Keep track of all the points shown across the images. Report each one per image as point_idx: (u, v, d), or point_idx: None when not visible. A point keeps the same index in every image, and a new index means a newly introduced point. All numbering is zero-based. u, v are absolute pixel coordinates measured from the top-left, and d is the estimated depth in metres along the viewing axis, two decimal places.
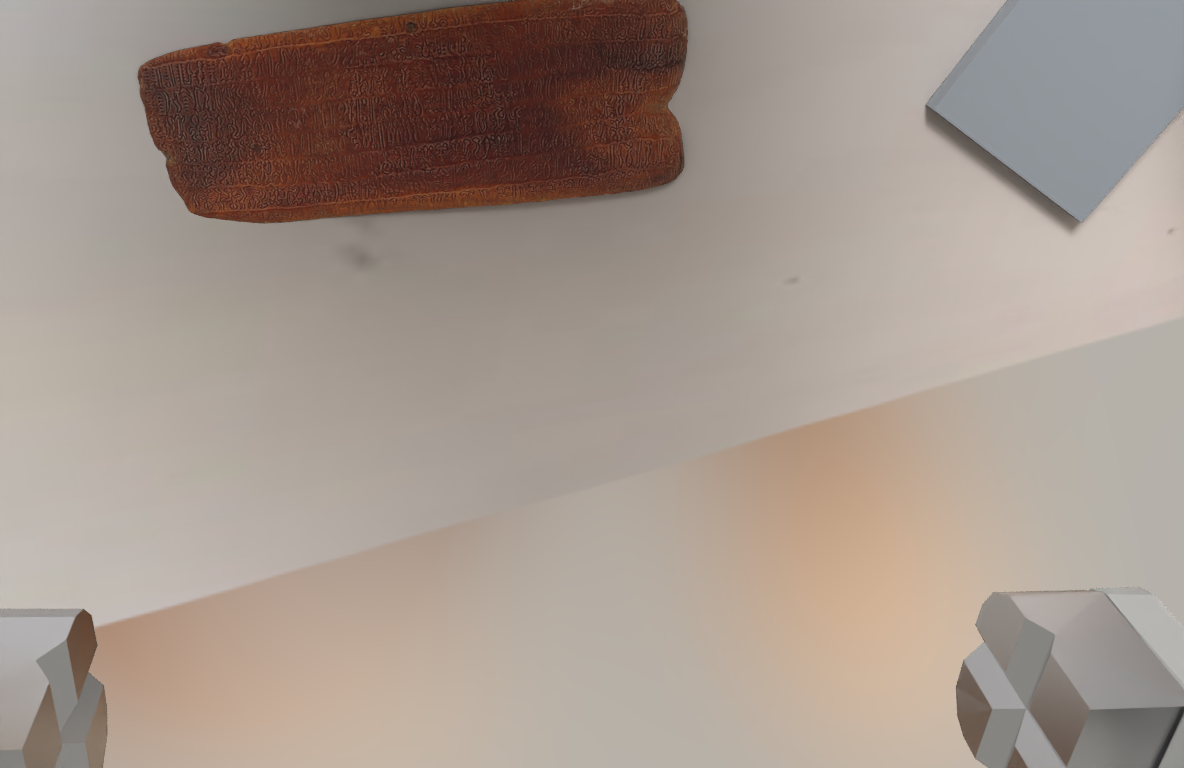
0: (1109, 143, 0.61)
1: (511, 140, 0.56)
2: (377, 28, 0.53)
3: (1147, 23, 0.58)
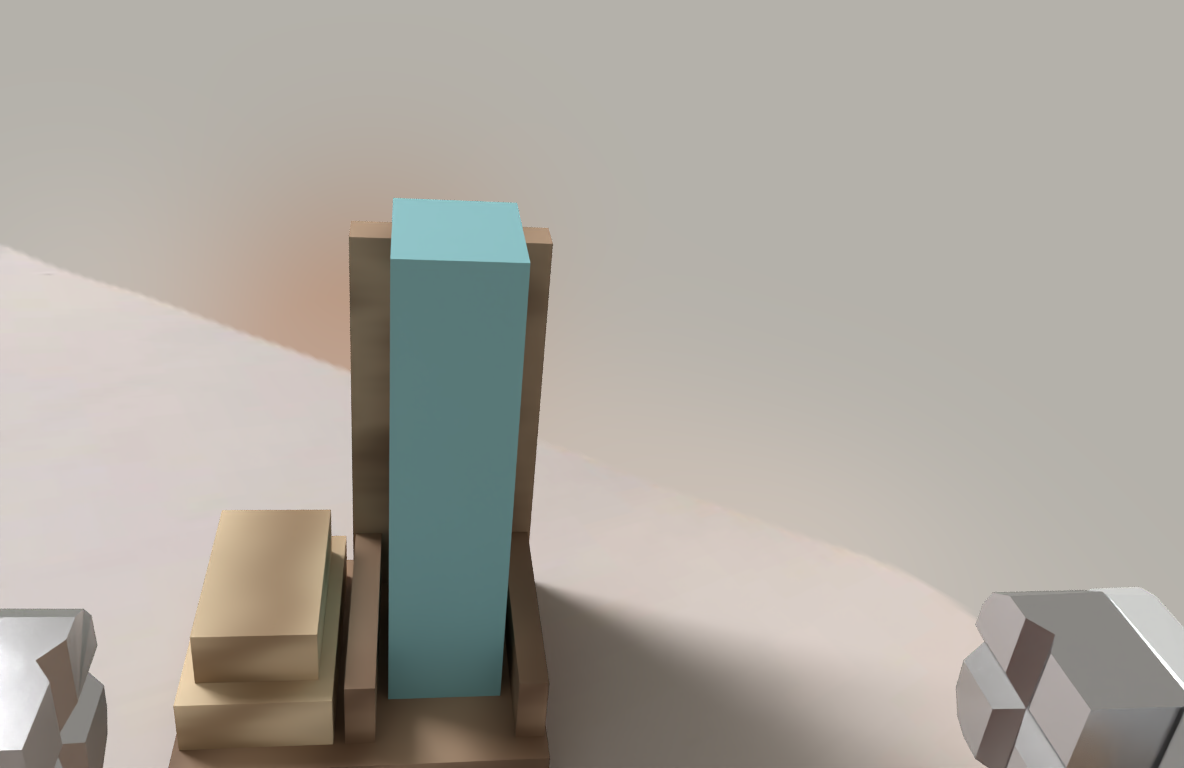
0: None
1: None
2: None
3: None
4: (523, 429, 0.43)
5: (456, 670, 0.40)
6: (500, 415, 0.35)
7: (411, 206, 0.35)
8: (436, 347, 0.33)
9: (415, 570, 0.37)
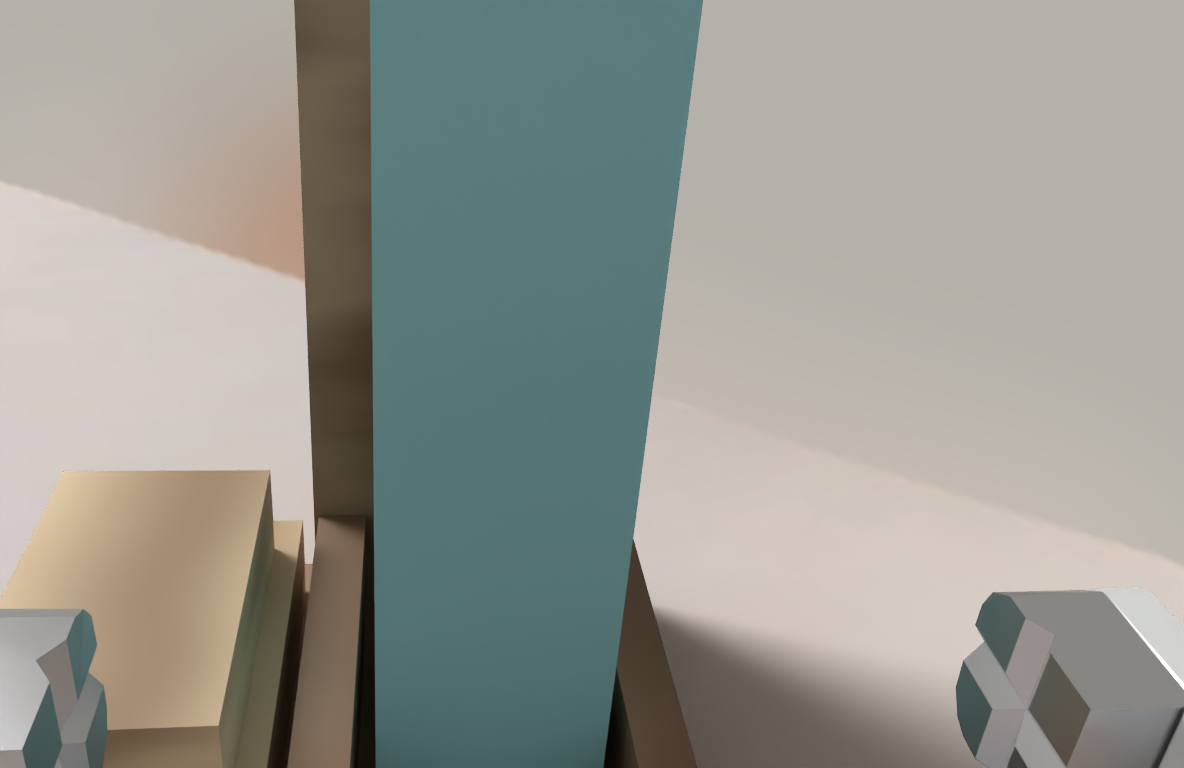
0: None
1: None
2: None
3: None
4: None
5: None
6: (629, 226, 0.15)
7: None
8: (484, 40, 0.14)
9: (430, 584, 0.17)
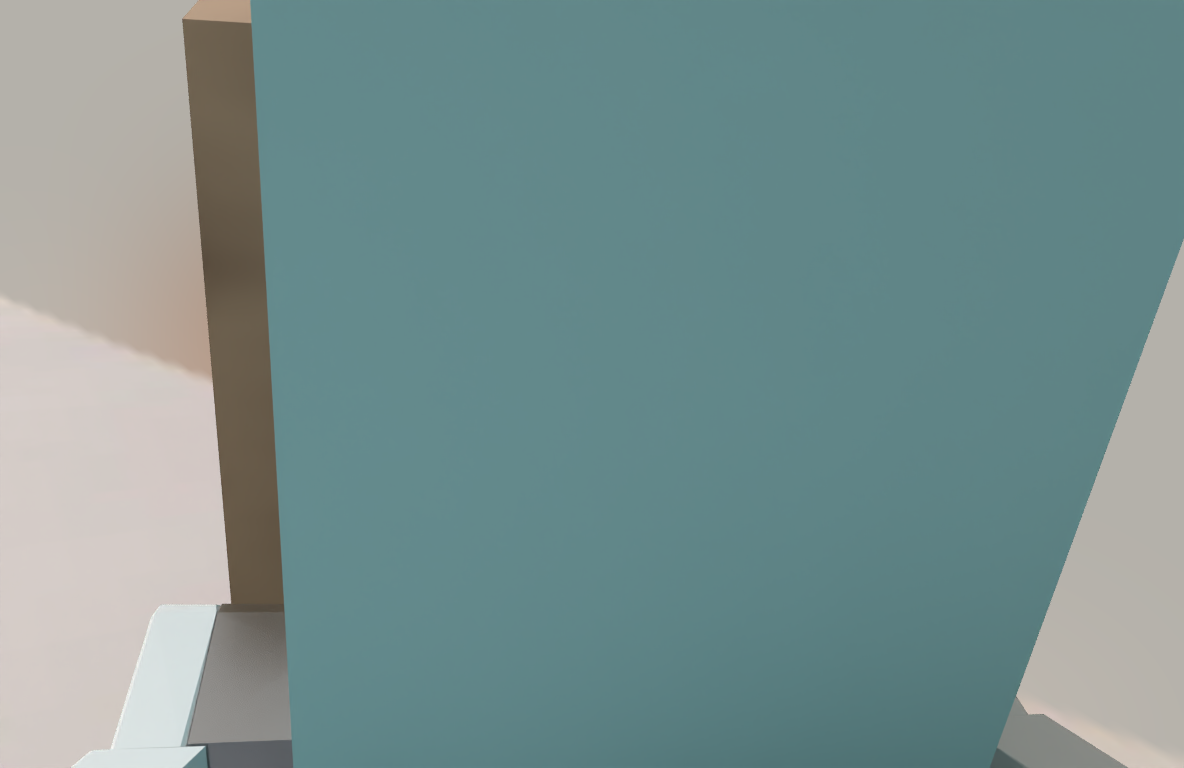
0: None
1: None
2: None
3: None
4: None
5: None
6: None
7: None
8: (575, 516, 0.05)
9: None
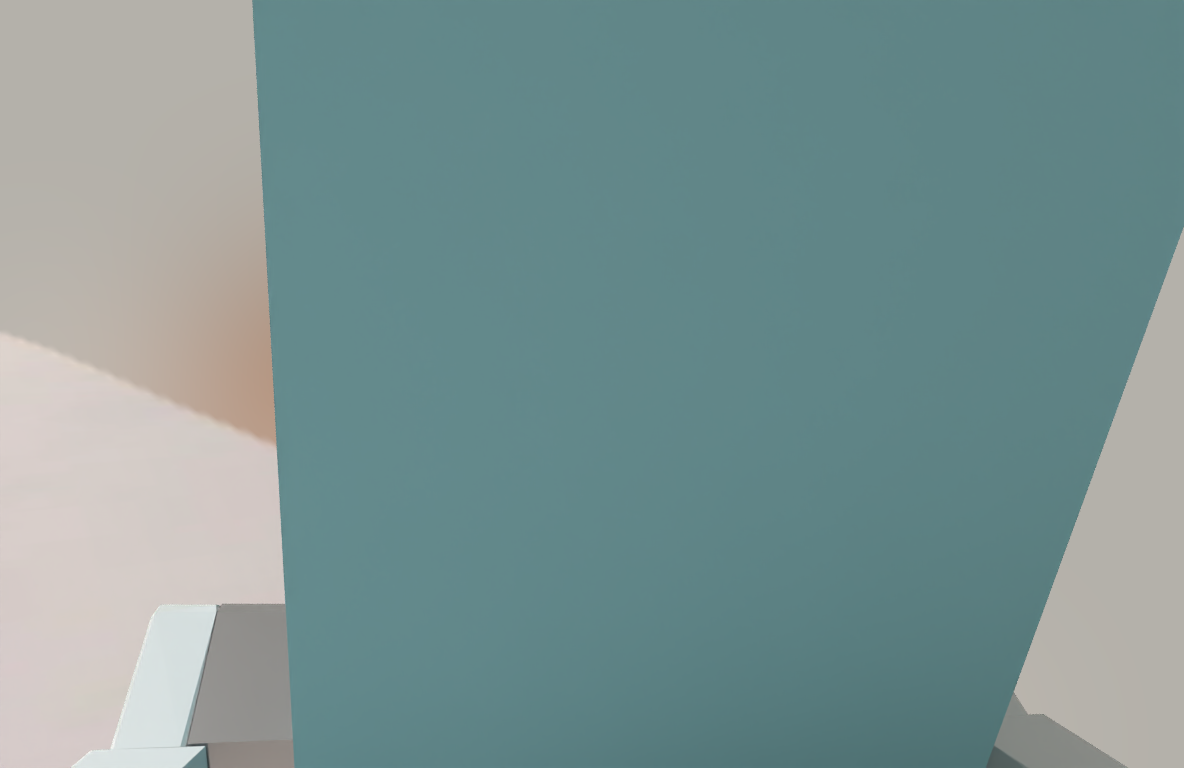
0: None
1: None
2: None
3: None
4: None
5: None
6: None
7: None
8: (575, 511, 0.05)
9: None
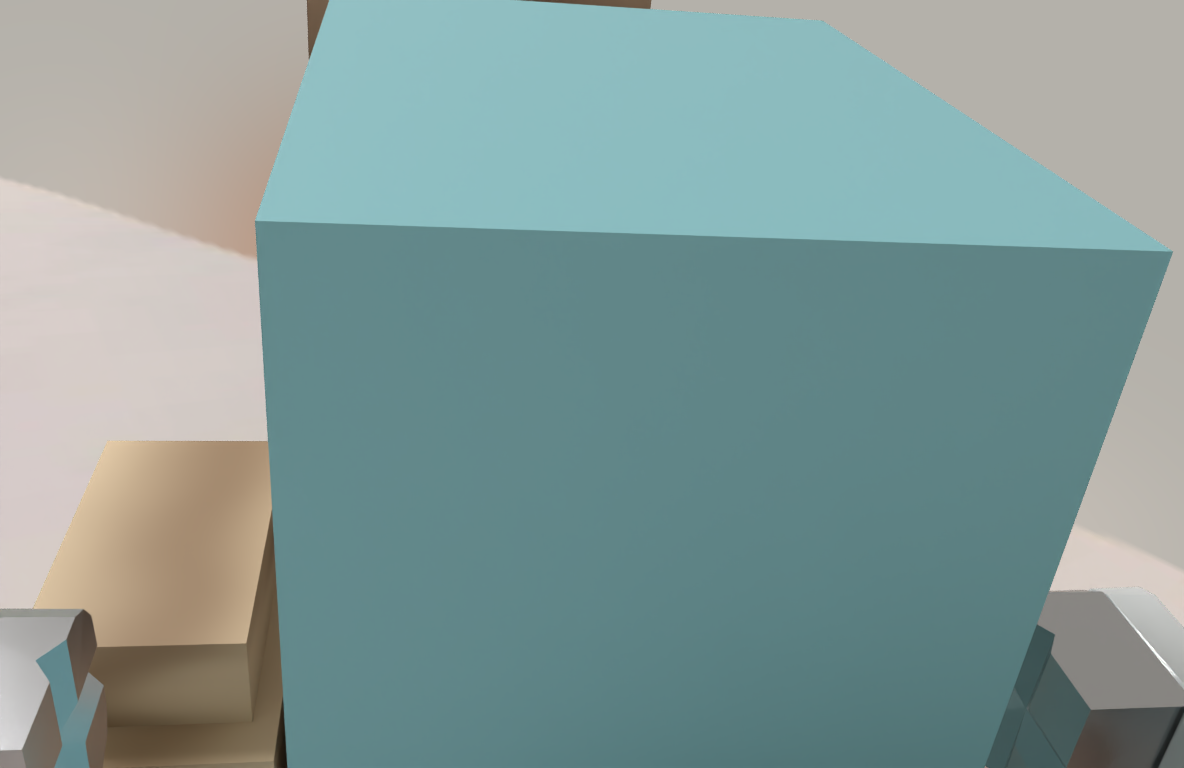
0: None
1: None
2: None
3: None
4: None
5: None
6: None
7: (407, 10, 0.08)
8: (548, 728, 0.06)
9: None
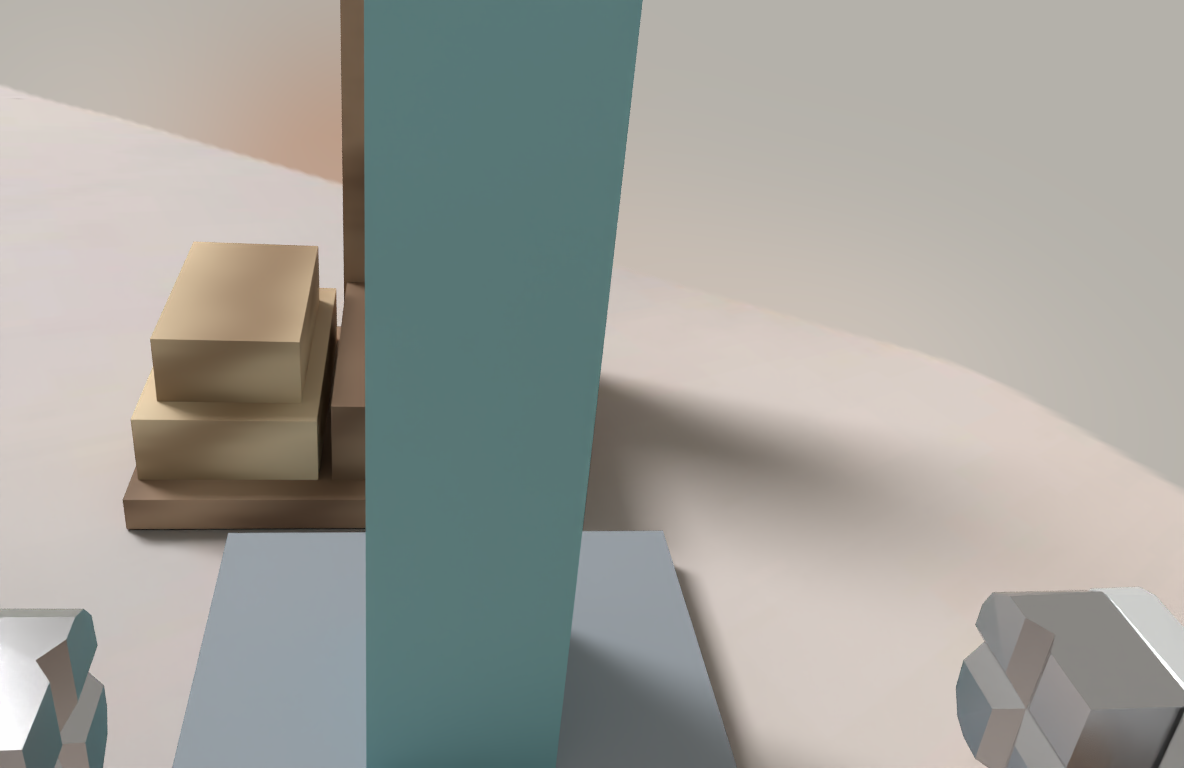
0: (637, 746, 0.25)
1: None
2: None
3: None
4: None
5: (483, 729, 0.23)
6: (576, 262, 0.18)
7: None
8: (457, 114, 0.17)
9: (412, 557, 0.21)
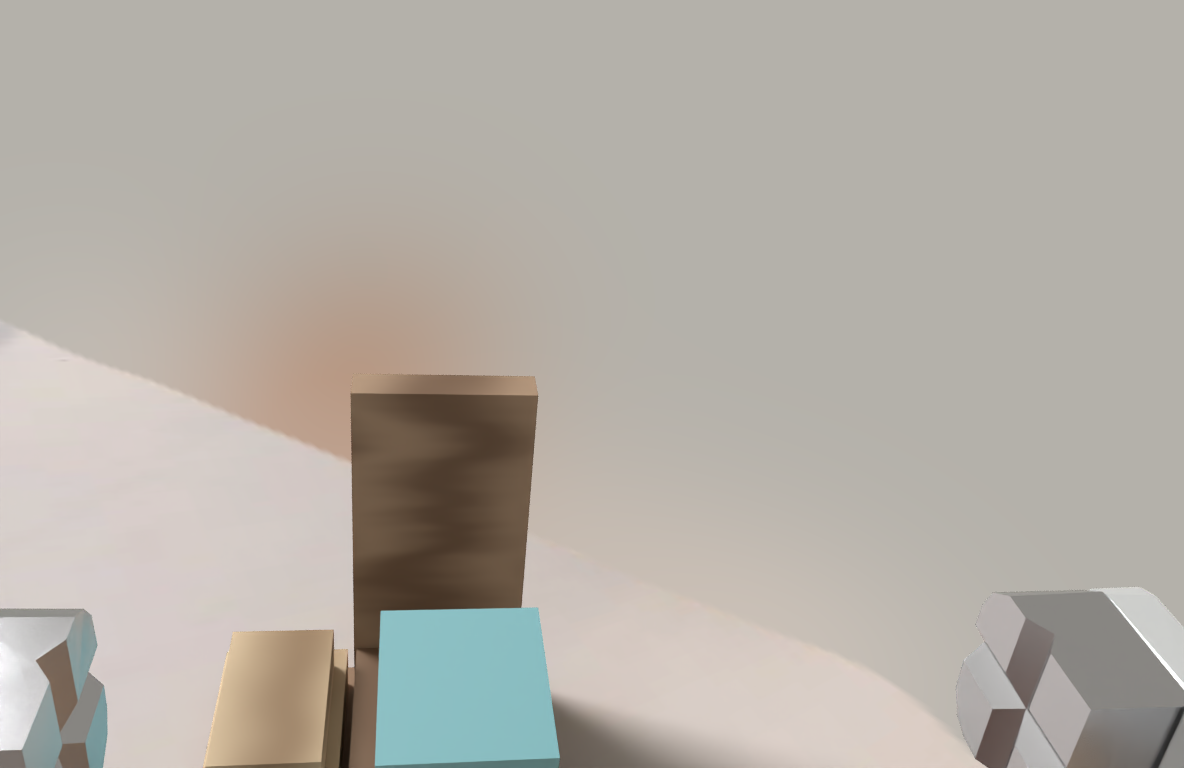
0: None
1: None
2: None
3: None
4: (512, 555, 0.46)
5: None
6: None
7: (403, 628, 0.28)
8: None
9: None
